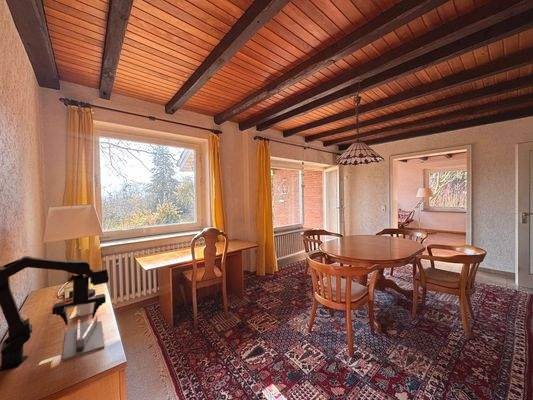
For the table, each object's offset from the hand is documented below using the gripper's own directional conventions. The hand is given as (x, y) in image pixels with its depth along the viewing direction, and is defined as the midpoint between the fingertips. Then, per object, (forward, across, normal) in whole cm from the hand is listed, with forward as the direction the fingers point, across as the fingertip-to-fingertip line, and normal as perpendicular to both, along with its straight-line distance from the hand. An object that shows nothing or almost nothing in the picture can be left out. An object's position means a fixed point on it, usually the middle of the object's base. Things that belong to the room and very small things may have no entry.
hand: (80, 321), depth 104 cm
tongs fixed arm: (+8, 0, 0) cm, 8 cm away
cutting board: (+9, -2, 0) cm, 9 cm away
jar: (+9, -2, -32) cm, 33 cm away
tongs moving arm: (+8, -4, -1) cm, 9 cm away
